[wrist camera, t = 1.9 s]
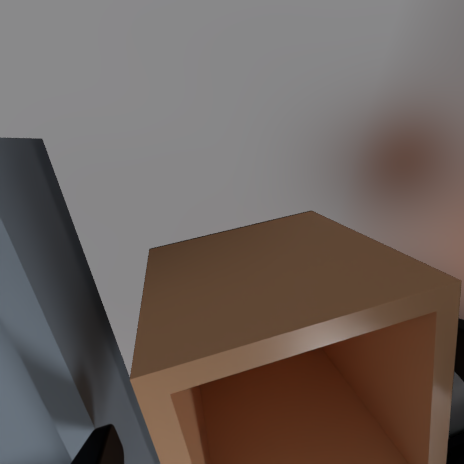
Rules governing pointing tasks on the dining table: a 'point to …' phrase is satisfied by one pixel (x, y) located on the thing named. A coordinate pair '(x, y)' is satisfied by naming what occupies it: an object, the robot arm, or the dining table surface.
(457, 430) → the dining table surface
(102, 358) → the big crate
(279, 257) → the small crate
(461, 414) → the dining table surface
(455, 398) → the dining table surface
